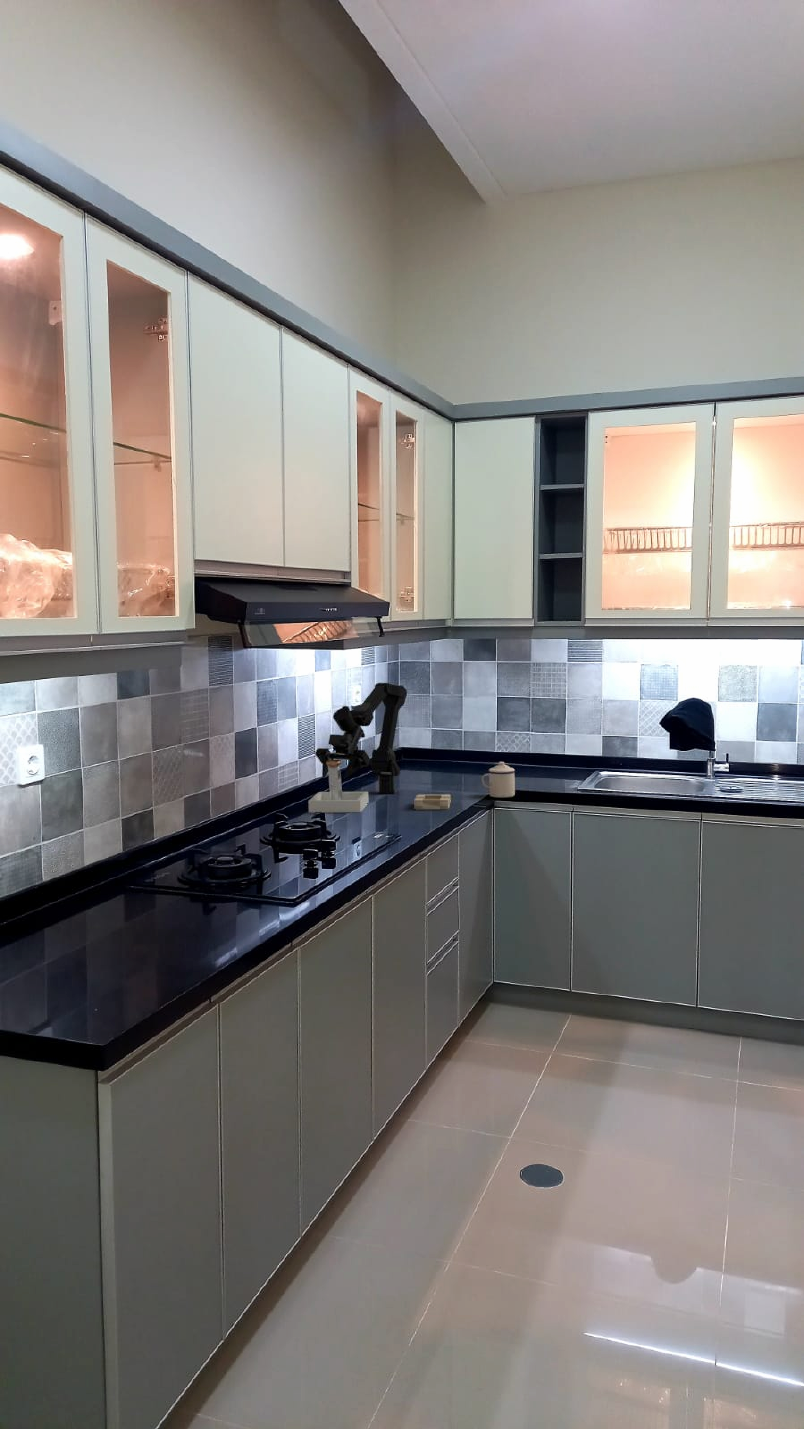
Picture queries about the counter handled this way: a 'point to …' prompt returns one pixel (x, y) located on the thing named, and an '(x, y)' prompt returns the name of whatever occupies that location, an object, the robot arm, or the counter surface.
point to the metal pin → (335, 779)
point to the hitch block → (432, 801)
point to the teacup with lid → (500, 781)
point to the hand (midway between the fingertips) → (333, 777)
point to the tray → (338, 802)
